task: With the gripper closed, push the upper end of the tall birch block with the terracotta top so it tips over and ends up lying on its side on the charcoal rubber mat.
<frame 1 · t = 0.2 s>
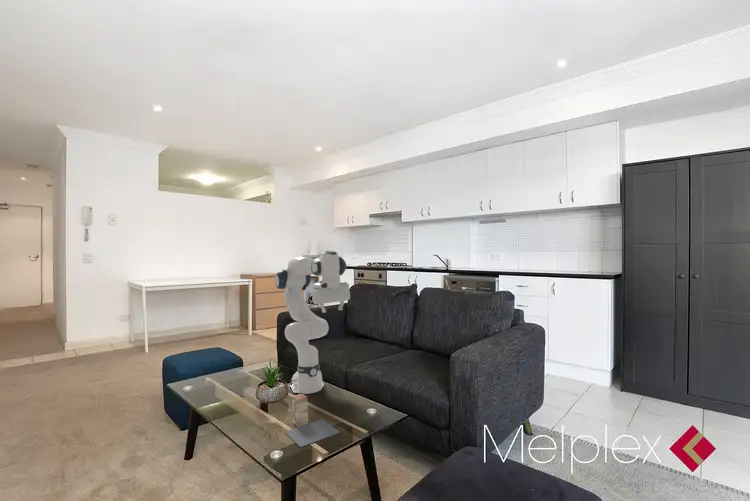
hand: (332, 311, 182), 47 cm above the table, tool pointing down, fingers open, 8 cm apart
rubber mat: (312, 432, 155), on the table
birch block: (300, 423, 164), on the table
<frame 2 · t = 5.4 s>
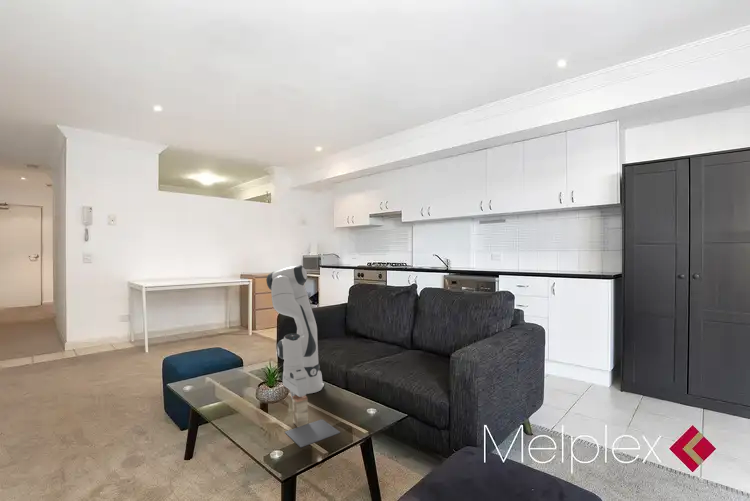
hand: (294, 400, 167), 9 cm above the table, tool pointing down, fingers closed
birch block: (300, 423, 164), on the table, touching gripper
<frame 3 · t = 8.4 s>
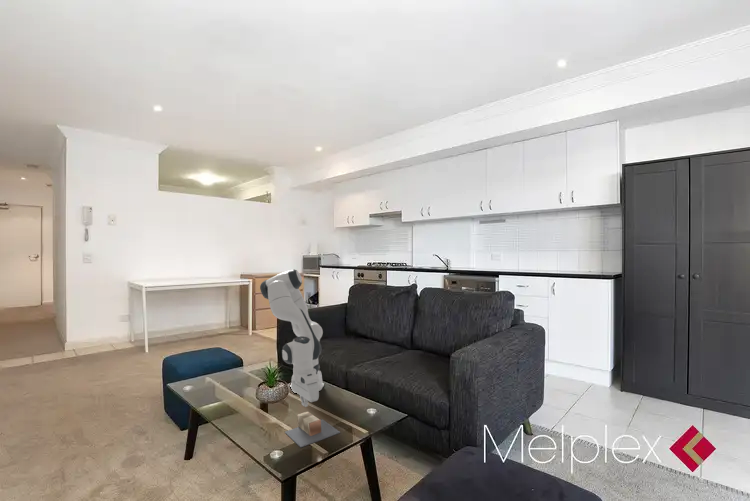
hand: (304, 405, 162), 9 cm above the table, tool pointing down, fingers closed
birch block: (302, 418, 163), point 3 cm above the table, tilted 90°, touching rubber mat
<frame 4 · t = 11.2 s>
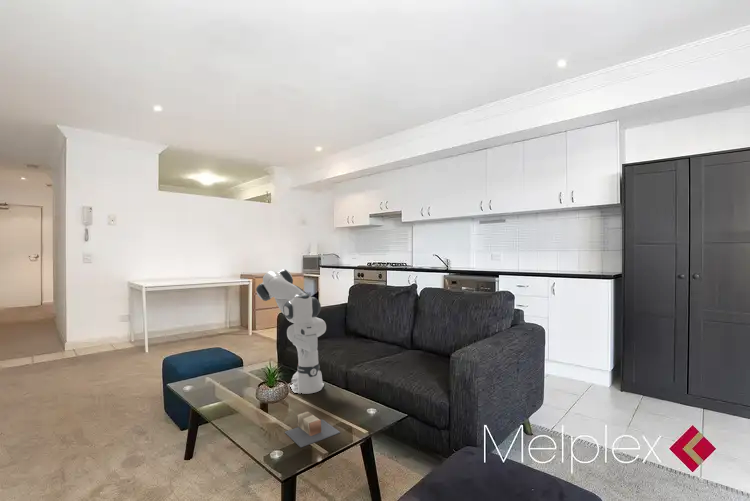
hand: (304, 357, 173), 27 cm above the table, tool pointing down, fingers closed
nothing on the table moved.
at the end: birch block tilted 90°; birch block touching rubber mat; birch block inside the target area (2.1 cm from its centre), point 2.9 cm above the table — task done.
